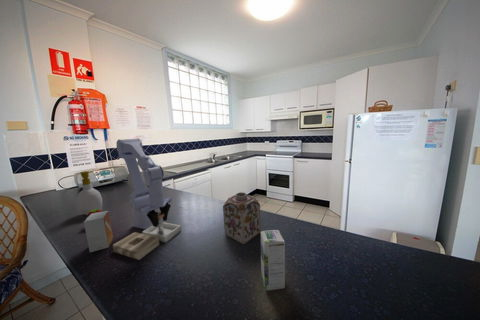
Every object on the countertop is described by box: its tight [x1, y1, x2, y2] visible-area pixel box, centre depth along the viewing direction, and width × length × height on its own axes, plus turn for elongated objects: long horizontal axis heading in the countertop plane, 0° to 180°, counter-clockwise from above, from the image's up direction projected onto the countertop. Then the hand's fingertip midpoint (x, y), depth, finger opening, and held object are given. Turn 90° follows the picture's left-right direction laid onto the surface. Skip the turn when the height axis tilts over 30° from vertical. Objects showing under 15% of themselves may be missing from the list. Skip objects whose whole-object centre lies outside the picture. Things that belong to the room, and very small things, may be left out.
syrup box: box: [260, 229, 286, 292], centre depth 48 cm, size 6×6×14 cm
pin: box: [156, 211, 164, 235], centre depth 76 cm, size 4×4×9 cm
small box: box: [83, 210, 114, 253], centre depth 70 cm, size 8×6×13 cm
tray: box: [141, 221, 182, 243], centre depth 77 cm, size 13×9×2 cm
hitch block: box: [112, 232, 160, 261], centre depth 68 cm, size 14×9×3 cm, turn 68°
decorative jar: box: [222, 191, 262, 245], centre depth 73 cm, size 12×12×18 cm
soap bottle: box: [76, 170, 103, 216], centre depth 101 cm, size 14×9×26 cm, turn 79°
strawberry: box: [87, 207, 104, 218], centre depth 88 cm, size 6×8×10 cm
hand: (160, 223), depth 76 cm, fingers open, 5 cm apart
